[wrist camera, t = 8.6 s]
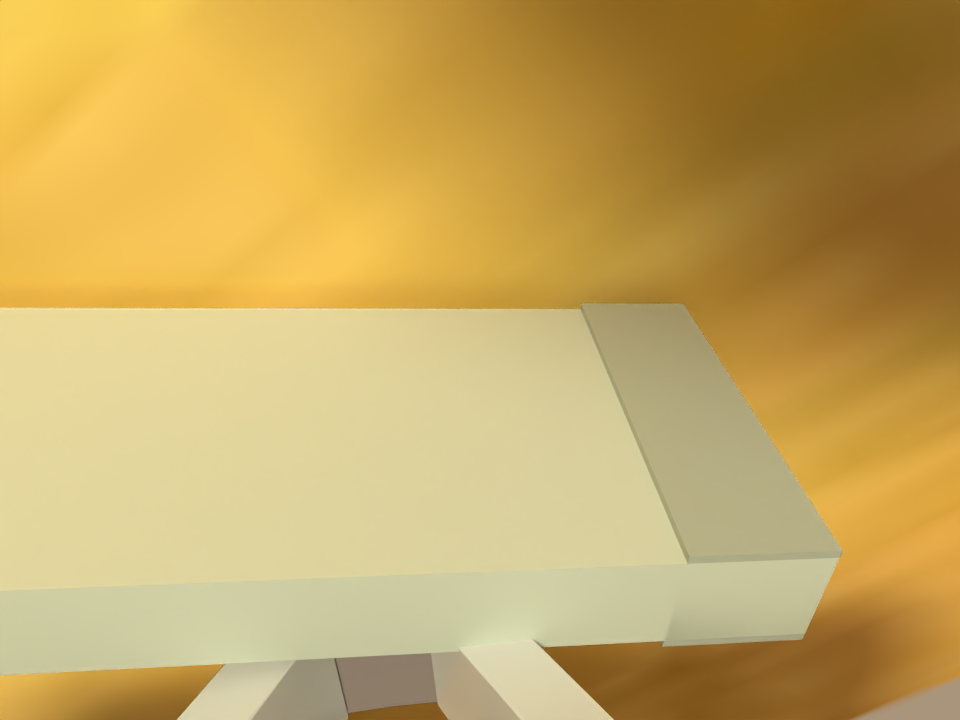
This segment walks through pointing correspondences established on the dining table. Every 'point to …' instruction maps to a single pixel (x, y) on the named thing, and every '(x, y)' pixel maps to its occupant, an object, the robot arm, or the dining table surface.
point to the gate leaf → (384, 486)
